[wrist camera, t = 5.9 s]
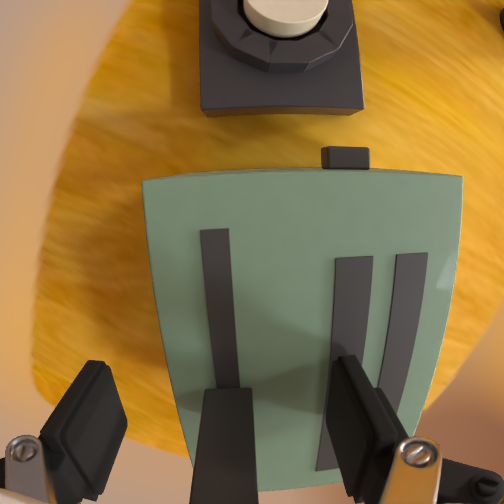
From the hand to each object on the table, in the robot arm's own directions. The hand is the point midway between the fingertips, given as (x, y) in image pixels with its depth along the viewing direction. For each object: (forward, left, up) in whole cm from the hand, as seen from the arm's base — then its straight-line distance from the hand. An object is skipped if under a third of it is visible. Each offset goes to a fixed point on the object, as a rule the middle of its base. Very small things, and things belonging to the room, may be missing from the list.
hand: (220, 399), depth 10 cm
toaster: (0, +3, -9) cm, 10 cm away
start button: (-15, +3, -6) cm, 17 cm away
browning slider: (0, 0, 0) cm, 0 cm away
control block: (-15, +3, -9) cm, 18 cm away
